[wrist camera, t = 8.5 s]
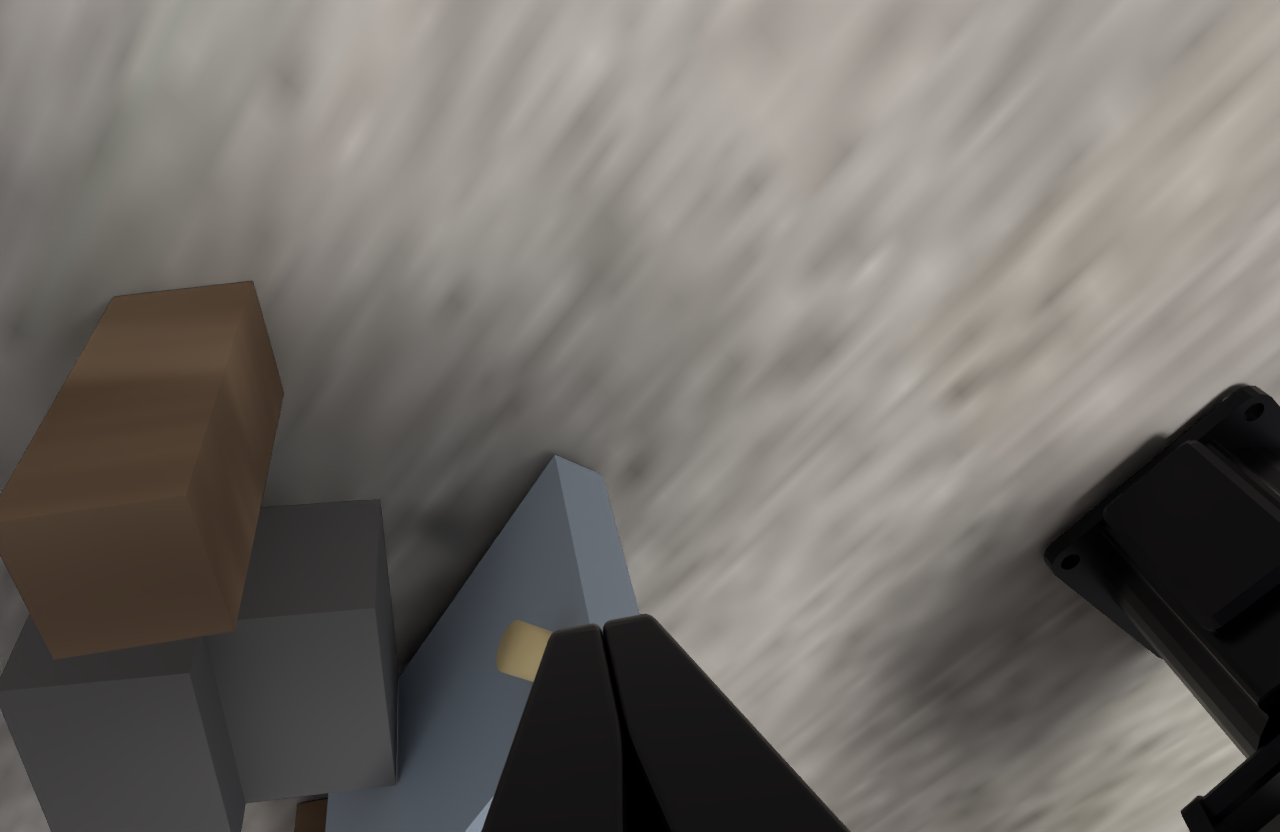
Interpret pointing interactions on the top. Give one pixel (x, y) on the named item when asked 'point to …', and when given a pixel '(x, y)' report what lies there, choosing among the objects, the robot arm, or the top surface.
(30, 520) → the frame
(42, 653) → the dark grey stepped block
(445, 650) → the door
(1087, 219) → the top surface
